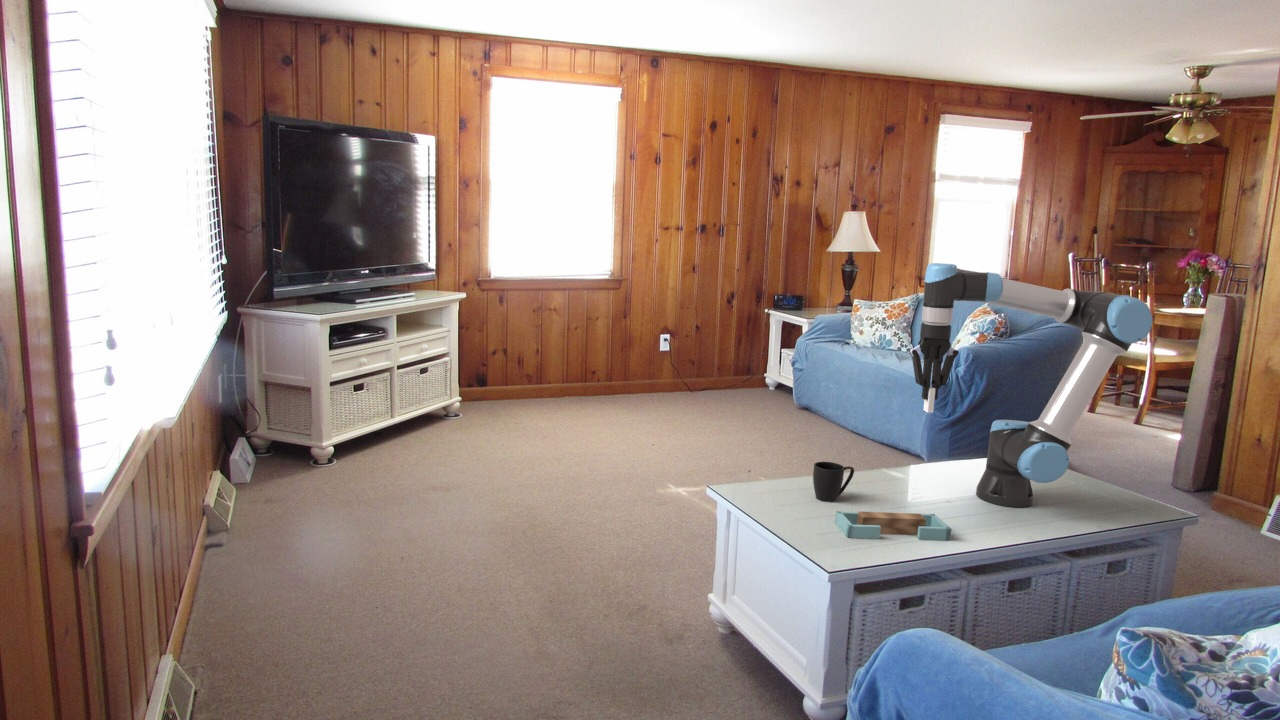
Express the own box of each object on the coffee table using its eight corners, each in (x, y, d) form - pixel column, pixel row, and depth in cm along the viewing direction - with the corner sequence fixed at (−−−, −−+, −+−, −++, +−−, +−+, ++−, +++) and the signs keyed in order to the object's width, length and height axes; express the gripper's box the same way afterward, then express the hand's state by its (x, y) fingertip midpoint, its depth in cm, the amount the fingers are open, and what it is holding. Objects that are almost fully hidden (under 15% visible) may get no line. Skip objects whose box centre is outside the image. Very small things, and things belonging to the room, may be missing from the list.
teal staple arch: (932, 525, 222) (934, 513, 222) (950, 540, 212) (951, 528, 211) (902, 524, 221) (904, 513, 221) (918, 539, 211) (920, 528, 211)
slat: (918, 530, 218) (920, 513, 218) (924, 536, 214) (926, 519, 214) (856, 528, 217) (858, 511, 217) (861, 534, 213) (863, 517, 213)
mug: (858, 502, 237) (862, 469, 235) (820, 504, 233) (823, 470, 231) (843, 492, 244) (846, 460, 243) (805, 494, 241) (808, 461, 239)
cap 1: (847, 537, 210) (849, 526, 209) (834, 522, 220) (836, 511, 219) (879, 538, 210) (880, 527, 210) (865, 523, 221) (866, 512, 220)
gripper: (953, 321, 228) (945, 408, 232) (906, 320, 226) (898, 408, 230) (967, 325, 220) (958, 414, 225) (918, 324, 219) (910, 414, 223)
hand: (928, 411), depth 227 cm, fingers closed
